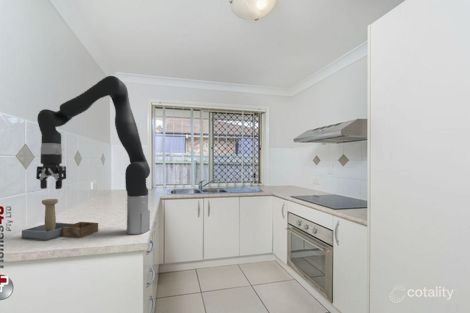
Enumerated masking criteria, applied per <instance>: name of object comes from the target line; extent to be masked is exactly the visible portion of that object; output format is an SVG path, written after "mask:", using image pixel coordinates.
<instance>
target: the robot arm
mask: <svg viewBox="0 0 470 313" xmlns="http://www.w3.org/2000/svg"><path fill="white" fill-rule="evenodd" d="M108 96H109V97H110V99H111V100H112V104H113V108H114V111H115V115H114V126H115V130H116V133H117V137H118V139H119V142H120V143H121V145H122V148H124V150H125V152H126V154H127V156H128V158H129V164H128V165H127V167H126V168H125V173H124V175H125V176H124V177H125V178H124V179H125V183H124V184H125V190H126V194H127V196H126V197H127V198H126V233H127V235H142V234H144V233H146V232H149V231H150V230H151V228H150V226H151V224H150V223H151V211H150V209H149V189H148V187H147V178H148V177H149V176H150V174H151V168H150V165H149V163H148V160H147V157H146V155H145V154H144V149H143V145H142V142H141V138H140V132H139V129H138V126H137V123H136V120H135V116H134V113H133V111H132V108H131V104H130V98H129V92H128V88H127V85H126V84H125V83H124V82H123V81H122V80H121V78H118V77H117V76H114V75H108V76H105V77H104V78H102V79H101V80H99V81H98V82H96V83H95V84H94V85H92V86H91V87H89V88H88V89H87V90H85V91H83V92H82V93H81V94H79V95H77V96H75V97H73V98H71V99H69V100H66V101H65V102H62V103H61V104H60V105H59V110H57V111H54V110H52V109H47V108H46V109H41V110H40V111H39V113H37V117H36V118H37V124H38V127H39V131H40V133H41V141H40V142H41V145H40V161H39V162H40V165H41V166H38V165H37V167H36V175H35V176H36V177H35V178H36V180H39V181H40V182H39V183H40V189H42V190H45V189H47V188H48V186H47V185H48V178H49V177H51V176H52V177H53V178H54V179H55V190H60V189H62V187H63V180H67V166H65V165H61V164H62V163H63V148H62V134H61V132H59V131H58V130H57V127H58V128H59V127H62V126H64V125H66V124H67V123H69V122H70V120H72V119H74V117H76V116H79V115H81V114H82V113H85V112H86V111H87V110H88V109H89V108H91V106H93V105H94V103H96V102H97V101H98V100H100V99H102V98H104V97H108Z"/></svg>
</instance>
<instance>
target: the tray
mask: <svg viewBox="0 0 470 313" xmlns="http://www.w3.org/2000/svg"><path fill="white" fill-rule="evenodd" d="M71 224H72V223H69V222H68V223H67V222H56V226H55V230H52V231H49V232H46V230H45V223H44V224H42V225H41V224H40V225H37V226H33V227H30V228H26V229H22V230H21V239H24V240H25V239H26V240H35V241H46V242H47V241H50V240H54V239H57V238H60V237H63V236H62V227H64V226H68V225H71Z"/></svg>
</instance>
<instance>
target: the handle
mask: <svg viewBox="0 0 470 313" xmlns="http://www.w3.org/2000/svg"><path fill="white" fill-rule="evenodd" d="M58 202H59V199H57V198H47V199H42V200H41V204H42V205H44V206H45V210H44V224H45V230H46V232H49V231H52V230H55V226H56V223H57V221H56V220H57V215H56V204H58Z"/></svg>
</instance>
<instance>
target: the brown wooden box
mask: <svg viewBox="0 0 470 313" xmlns="http://www.w3.org/2000/svg"><path fill="white" fill-rule="evenodd" d="M97 232H99V222H91V221H90V222H89V221H79V222H75V223H71V225H68V226H64V227H62V236H61V237H66V238H67V237H69V238H77V239H78V238H79V239H80V238H81V239H82V238H83V237H87V236H89V235H93V234H95V233H97Z"/></svg>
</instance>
